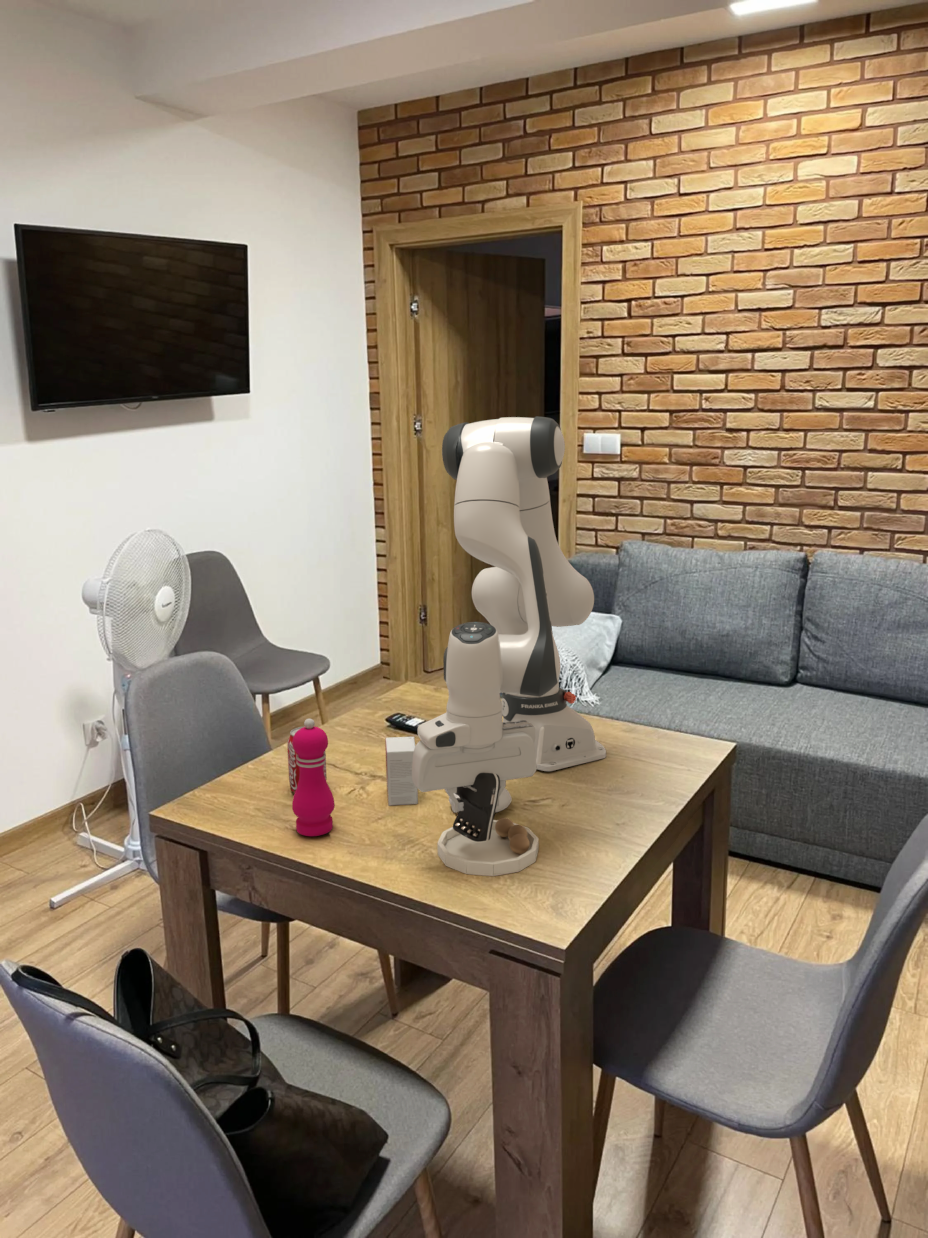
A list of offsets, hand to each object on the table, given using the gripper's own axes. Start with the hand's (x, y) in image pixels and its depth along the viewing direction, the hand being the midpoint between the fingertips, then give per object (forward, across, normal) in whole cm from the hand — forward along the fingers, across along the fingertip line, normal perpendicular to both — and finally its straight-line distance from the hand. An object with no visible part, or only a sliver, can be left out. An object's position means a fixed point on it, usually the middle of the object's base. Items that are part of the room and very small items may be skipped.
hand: (475, 808), depth 155 cm
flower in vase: (+8, -7, -18) cm, 21 cm away
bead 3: (+7, -6, +3) cm, 10 cm away
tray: (+8, -2, 0) cm, 8 cm away
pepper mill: (+8, +23, -19) cm, 31 cm away
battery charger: (+5, +1, 0) cm, 5 cm away
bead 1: (+7, -6, -3) cm, 10 cm away
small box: (+8, +5, -27) cm, 29 cm away
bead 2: (+7, -7, 0) cm, 10 cm away
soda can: (+8, +21, -36) cm, 42 cm away
